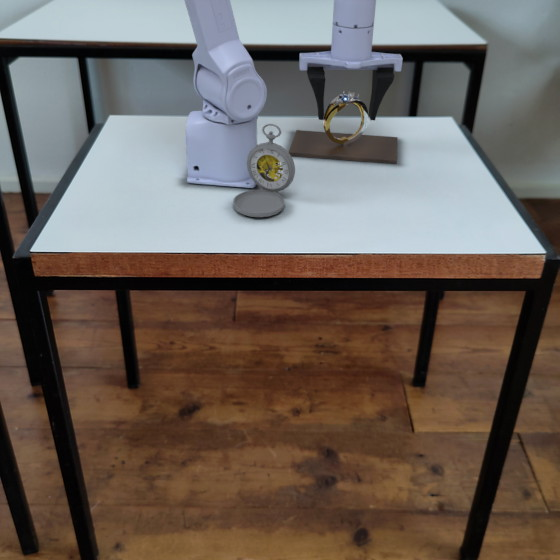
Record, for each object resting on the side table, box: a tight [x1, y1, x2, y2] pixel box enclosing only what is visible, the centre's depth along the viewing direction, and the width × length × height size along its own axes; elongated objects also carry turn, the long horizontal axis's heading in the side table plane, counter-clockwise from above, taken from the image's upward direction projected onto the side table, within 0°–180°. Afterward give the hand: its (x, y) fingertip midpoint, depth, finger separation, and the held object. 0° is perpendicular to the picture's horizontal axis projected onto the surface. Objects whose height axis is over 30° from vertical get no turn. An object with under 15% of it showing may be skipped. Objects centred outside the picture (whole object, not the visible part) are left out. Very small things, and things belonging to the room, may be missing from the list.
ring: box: [322, 90, 369, 145], centre depth 104 cm, size 7×3×8 cm, turn 105°
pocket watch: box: [232, 123, 296, 218], centre depth 87 cm, size 8×8×10 cm
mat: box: [288, 129, 398, 165], centre depth 106 cm, size 16×9×1 cm, turn 82°
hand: (346, 117), depth 103 cm, fingers open, 7 cm apart
